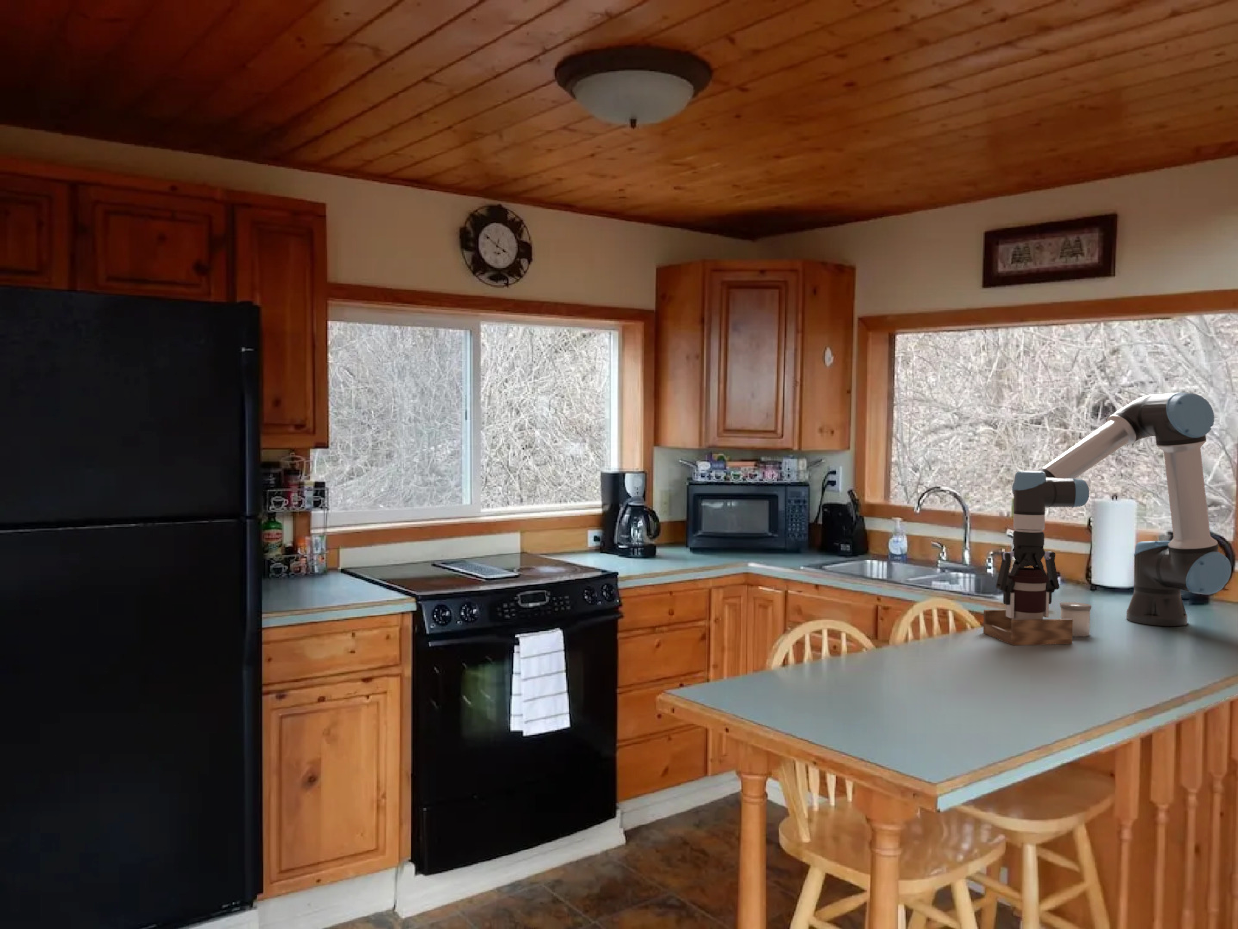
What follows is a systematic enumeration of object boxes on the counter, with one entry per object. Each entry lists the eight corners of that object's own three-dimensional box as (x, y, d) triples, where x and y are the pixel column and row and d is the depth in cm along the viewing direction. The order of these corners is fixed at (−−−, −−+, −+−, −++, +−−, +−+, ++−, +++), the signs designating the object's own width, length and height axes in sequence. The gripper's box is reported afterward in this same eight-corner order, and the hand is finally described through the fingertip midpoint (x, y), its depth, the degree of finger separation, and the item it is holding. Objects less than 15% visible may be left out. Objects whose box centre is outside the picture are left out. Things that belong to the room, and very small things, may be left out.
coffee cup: (1054, 630, 248) (1055, 571, 247) (1015, 630, 248) (1016, 571, 247) (1038, 622, 258) (1039, 566, 257) (1000, 622, 258) (1001, 566, 257)
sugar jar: (1079, 630, 263) (1080, 602, 263) (1096, 636, 256) (1097, 607, 255) (1053, 631, 262) (1054, 602, 262) (1069, 637, 255) (1070, 607, 254)
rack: (1039, 631, 261) (1039, 608, 261) (1072, 643, 247) (1072, 619, 246) (983, 632, 259) (983, 609, 259) (1012, 645, 245) (1013, 620, 244)
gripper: (1059, 528, 257) (1057, 613, 258) (982, 529, 254) (980, 614, 255) (1076, 531, 250) (1074, 618, 250) (996, 532, 247) (995, 620, 248)
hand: (1027, 616), depth 253 cm, fingers closed on coffee cup, 9 cm apart
